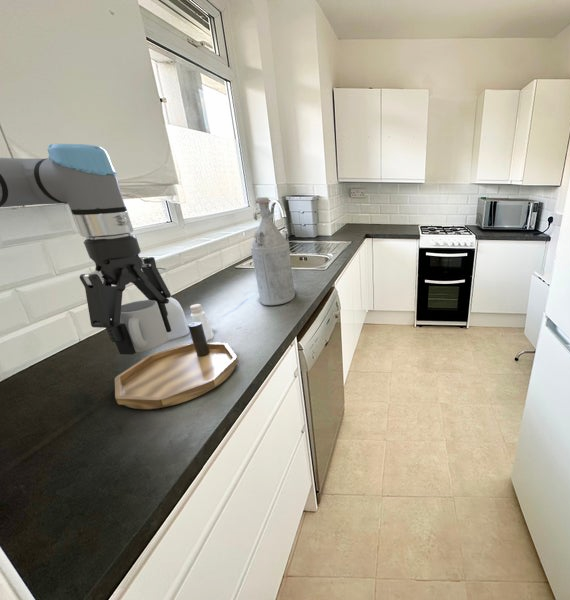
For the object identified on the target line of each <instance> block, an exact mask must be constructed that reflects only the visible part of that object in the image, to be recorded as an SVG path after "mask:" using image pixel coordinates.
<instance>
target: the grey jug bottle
mask: <svg viewBox="0 0 570 600" xmlns="http://www.w3.org/2000/svg"><path fill="white" fill-rule="evenodd" d="M255 198H256V199H255V200H254V201H255V202H254V207H256V204H258V207H256V209H255V211H254V212H253V213H252V216H253V219H254V220H255V221H258V215H260V217H261V220H260V223H259V226H258V228H257V231H255V232H254V237H253V240H252V243H251V246H250V247H249V248H250V251H251V256H252V263H253V268H254V274H255V279H256V284H257V291H258V295H259V300H260V303H261V305H264V306H279V305H282V304H286V303H289V302H292V300H294V299H295V296H296V294H295V285H294V276H293V268H292V260H291V251H290V243H289V242H288V241H287V239H286V238H285V237H284V235H283V234H282V232H281V231H280V230H279V228H278V227H277V226H276V224H275V223H274V222H273V220H272V219H273V217H274V213H272V212H271V210H270V203H272V201H271V200H270V199H269V197H268V196H255ZM258 209H259V212H257V210H258Z"/></svg>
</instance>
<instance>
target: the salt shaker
mask: <svg viewBox="0 0 570 600" xmlns="http://www.w3.org/2000/svg"><path fill="white" fill-rule="evenodd" d="M189 309H190V311H191V313H190V324H191V323H193V322H201V323H202V326H203V330H204V333H205V337H206V340H207V342H208V341H210V340H213V339H214V337H215V333H214V331H213V329H212V326H211V324H210V322H209V319H208V317H207V314H206V312H205V311H204V310H203V309H202V304H200V303H194V304H191V305H190V306H189Z"/></svg>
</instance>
